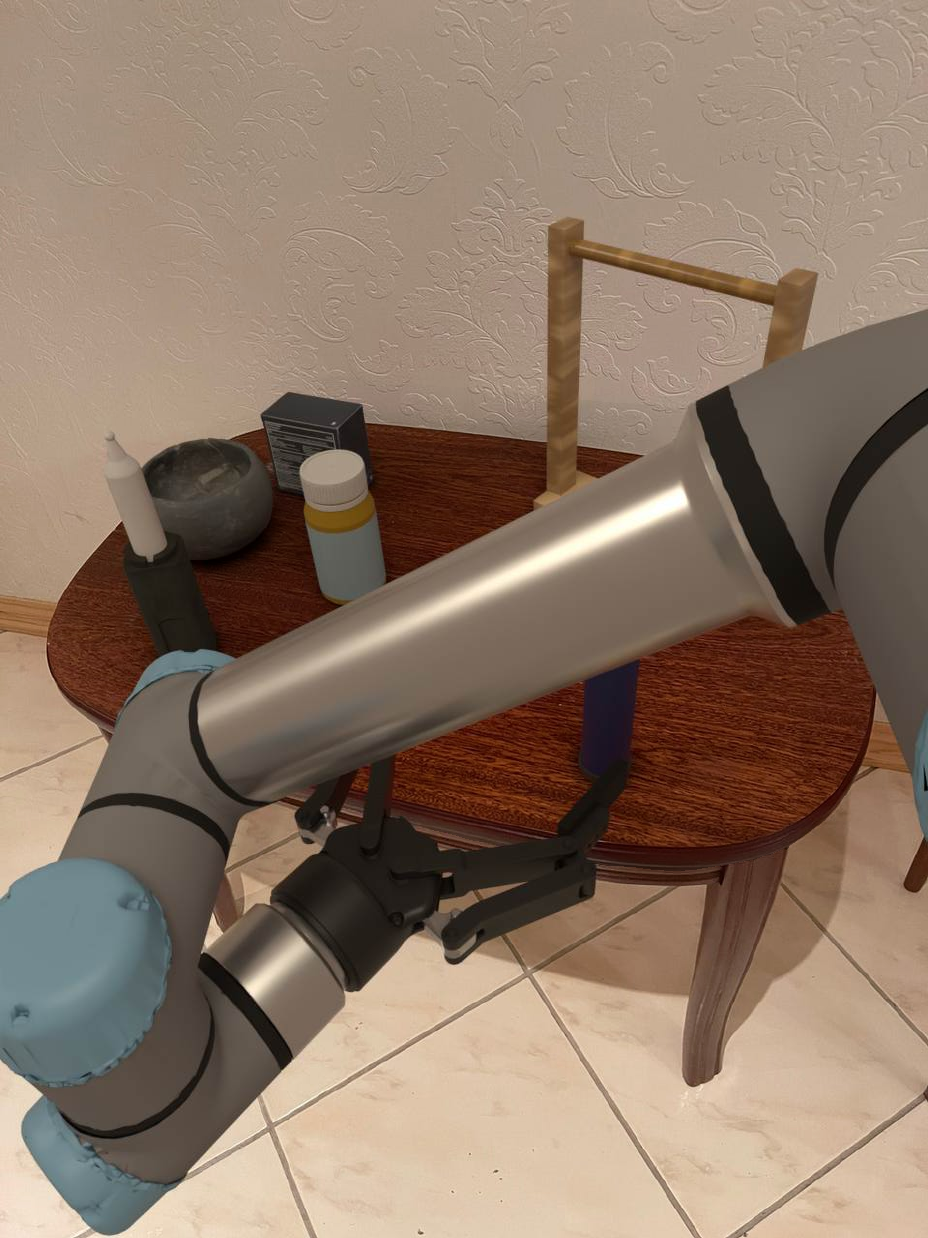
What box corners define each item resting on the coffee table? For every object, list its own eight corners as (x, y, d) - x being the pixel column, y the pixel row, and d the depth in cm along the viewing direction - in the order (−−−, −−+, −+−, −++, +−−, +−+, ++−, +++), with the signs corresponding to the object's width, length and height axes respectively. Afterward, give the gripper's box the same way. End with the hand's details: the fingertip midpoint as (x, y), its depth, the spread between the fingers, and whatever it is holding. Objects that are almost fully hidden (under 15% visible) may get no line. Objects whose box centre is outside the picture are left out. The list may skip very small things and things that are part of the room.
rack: (767, 559, 93) (832, 262, 72) (728, 598, 89) (786, 295, 68) (574, 479, 106) (582, 208, 85) (533, 511, 102) (531, 233, 81)
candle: (163, 675, 86) (71, 452, 69) (165, 640, 89) (78, 420, 73) (216, 666, 86) (137, 442, 69) (216, 631, 90) (142, 411, 73)
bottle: (309, 601, 93) (281, 480, 82) (340, 561, 97) (317, 442, 87) (369, 615, 90) (347, 493, 80) (397, 573, 95) (380, 453, 85)
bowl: (135, 533, 103) (107, 459, 97) (255, 490, 108) (236, 418, 102) (172, 602, 94) (144, 526, 87) (302, 552, 99) (285, 476, 92)
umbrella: (611, 795, 72) (633, 545, 55) (567, 768, 75) (575, 519, 57) (676, 722, 78) (715, 472, 60) (634, 699, 80) (660, 452, 63)
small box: (377, 478, 109) (365, 401, 102) (351, 507, 105) (337, 429, 98) (303, 463, 112) (288, 387, 105) (276, 491, 108) (257, 414, 101)
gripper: (193, 861, 59) (414, 679, 70) (477, 1129, 46) (692, 853, 57) (161, 793, 54) (404, 608, 65) (470, 1072, 41) (707, 782, 52)
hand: (539, 722), depth 61 cm, fingers open, 13 cm apart
